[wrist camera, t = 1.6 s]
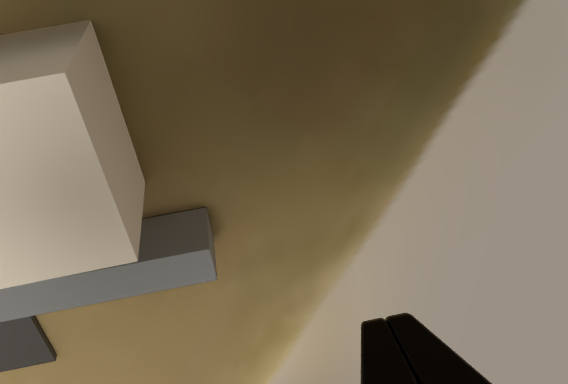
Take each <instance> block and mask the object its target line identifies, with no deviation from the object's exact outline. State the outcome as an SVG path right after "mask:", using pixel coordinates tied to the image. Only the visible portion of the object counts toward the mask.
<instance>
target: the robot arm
mask: <svg viewBox="0 0 568 384" xmlns="http://www.w3.org/2000/svg"><path fill="white" fill-rule="evenodd" d="M361 384H492V383H491V382H489V381H488V380H487V379H486V378H485V377H483V376H482V375H481V374H480V373H479V372H478V371H476V370H475V369H474V368H473V367H472V366H471V365H469V364H468V363H467V362H466V361H465V360H463V359H462V358H461V357H460V356H459V355H458V354H457V353H455V352H454V351H453V350H452V349H451V348H450V347H448V346H447V345H446V344H445V343H444V342H442V341H441V340H440V339H439V338H438V337H437V336H435V335H434V334H433V333H432V332H430V330H428V329H427V328H426V327H425V326H424V325H423V324H421V323H420V322H419V321H418V320H417V319H416V318H414V317H413V316H412V315H411V314H408V313H402V314H397V315H392V316H388V317H387V318H386V319H383V318H378V319H373V320H368V321H364V322H362V324H361Z"/></svg>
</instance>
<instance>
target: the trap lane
mask: <svg viewBox="0 0 568 384" xmlns="http://www.w3.org/2000/svg"><path fill="white" fill-rule="evenodd" d="M214 280H217V272H216V261H215V249H214V237H213V233H212V229H211V225H210V220H209V216H208V212H207V208H206V207H205V208H200V209H194V210H189V211H183V212H178V213H173V214H167V215H162V216H156V217H151V218H145V219H142V224H141V234H140V244H139V255H138V261H137V262H132V263H127V264H122V265H117V266H112V267H107V268H103V269H98V270H93V271H88V272H83V273H78V274H73V275H68V276H63V277H58V278H53V279H48V280H43V281H38V282H34V283H29V284H24V285H19V286H14V287H9V288H4V289H0V372H3V371H8V370H13V369H18V368H23V367H28V366H33V365H38V364H43V363H48V362H53V361H56V357H57V355H56V353H55V351H54V350H53V348H52V346H51V344H50V343H49V341H48V339H47V337H46V336H45V334H44V332H43V330H42V328H41V327H40V325H39V323H38V321H37V320H36V318H35V316H34V315H39V314H45V313H50V312H55V311H60V310H65V309H70V308H75V307H80V306H86V305H91V304H96V303H101V302H106V301H111V300H116V299H121V298H127V297H132V296H137V295H142V294H147V293H152V292H157V291H162V290H168V289H173V288H178V287H183V286H188V285H193V284H198V283H204V282H209V281H214Z"/></svg>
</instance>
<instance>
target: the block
mask: <svg viewBox="0 0 568 384" xmlns="http://www.w3.org/2000/svg"><path fill="white" fill-rule="evenodd" d="M144 193H145V180H144V177H143V174H142V171H141V168H140V165H139V162H138V159H137V156H136V153H135V150H134V147H133V144H132V141H131V138H130V135H129V132H128V129H127V126H126V123H125V120H124V117H123V114H122V111H121V108H120V105H119V102H118V99H117V96H116V93H115V90H114V87H113V84H112V81H111V78H110V75H109V72H108V69H107V67H106V64H105V61H104V58H103V55H102V52H101V49H100V46H99V43H98V40H97V37H96V34H95V31H94V28H93V25H92V22H91V20H85V21H79V22H73V23H67V24H62V25H56V26H50V27H44V28H38V29H32V30H27V31H21V32H15V33H9V34H3V35H0V289H4V288H9V287H14V286H19V285H24V284H29V283H34V282H38V281H43V280H48V279H53V278H58V277H63V276H68V275H73V274H78V273H83V272H88V271H93V270H98V269H103V268H107V267H112V266H117V265H122V264H127V263H132V262H137V261H138V255H139V244H140V234H141V224H142V214H143V203H144Z"/></svg>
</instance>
